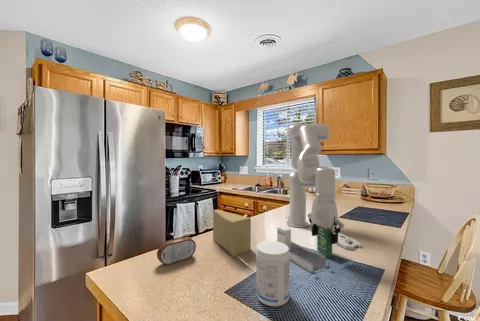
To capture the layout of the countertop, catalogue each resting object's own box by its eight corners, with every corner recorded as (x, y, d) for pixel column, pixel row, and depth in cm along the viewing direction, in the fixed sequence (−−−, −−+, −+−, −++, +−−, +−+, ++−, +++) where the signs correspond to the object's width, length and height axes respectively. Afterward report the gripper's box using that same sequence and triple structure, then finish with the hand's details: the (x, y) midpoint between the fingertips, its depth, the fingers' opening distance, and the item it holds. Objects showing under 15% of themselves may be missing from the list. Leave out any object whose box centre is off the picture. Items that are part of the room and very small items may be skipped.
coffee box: (316, 251, 94) (317, 221, 94) (322, 251, 94) (323, 221, 94) (325, 260, 86) (326, 227, 86) (332, 260, 86) (333, 227, 86)
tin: (193, 254, 91) (193, 234, 90) (197, 257, 88) (197, 236, 88) (156, 265, 81) (156, 242, 81) (159, 268, 79) (159, 245, 79)
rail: (309, 275, 75) (309, 265, 75) (270, 251, 94) (270, 243, 94) (328, 268, 80) (328, 259, 80) (287, 246, 99) (288, 238, 99)
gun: (321, 230, 111) (336, 228, 115) (320, 236, 112) (336, 234, 115) (350, 245, 94) (367, 243, 98) (349, 253, 95) (366, 250, 98)
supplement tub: (276, 284, 70) (277, 238, 69) (296, 302, 61) (297, 250, 61) (249, 292, 65) (250, 243, 65) (267, 312, 57) (267, 256, 57)
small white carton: (277, 247, 95) (277, 227, 95) (282, 246, 97) (283, 226, 97) (284, 252, 91) (284, 230, 91) (290, 250, 92) (290, 229, 92)
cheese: (205, 241, 104) (205, 210, 104) (222, 236, 110) (222, 207, 110) (233, 258, 87) (233, 221, 87) (251, 252, 93) (251, 217, 93)
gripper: (302, 195, 95) (302, 234, 96) (337, 202, 80) (336, 248, 80) (314, 193, 99) (314, 231, 99) (350, 200, 84) (349, 245, 84)
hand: (324, 239), depth 90 cm, fingers open, 9 cm apart
